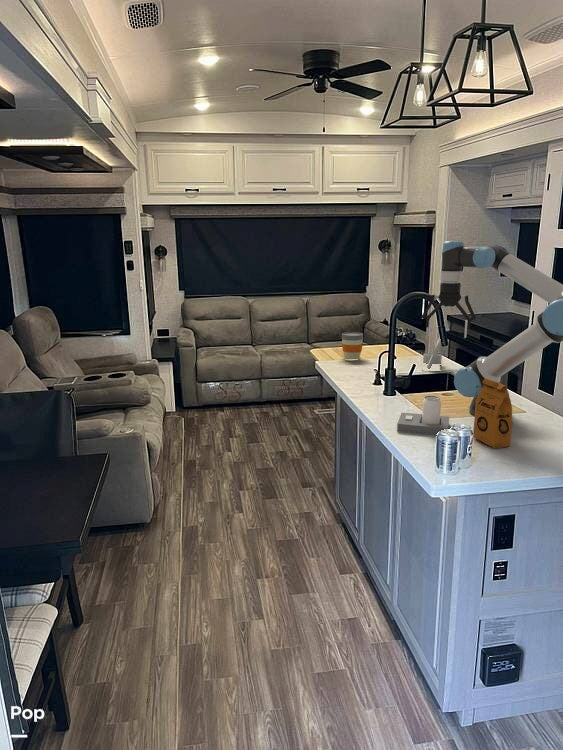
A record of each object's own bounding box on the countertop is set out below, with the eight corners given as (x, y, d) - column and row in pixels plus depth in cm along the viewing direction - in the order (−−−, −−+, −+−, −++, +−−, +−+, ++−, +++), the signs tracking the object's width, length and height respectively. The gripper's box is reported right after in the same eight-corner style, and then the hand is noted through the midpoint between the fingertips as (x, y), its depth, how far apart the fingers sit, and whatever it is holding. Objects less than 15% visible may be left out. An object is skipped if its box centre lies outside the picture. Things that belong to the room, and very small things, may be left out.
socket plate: (448, 423, 214) (449, 415, 213) (447, 436, 201) (448, 426, 201) (401, 419, 220) (401, 410, 219) (397, 431, 207) (397, 422, 206)
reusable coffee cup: (339, 357, 331) (339, 332, 328) (359, 356, 333) (360, 331, 329) (343, 361, 319) (344, 336, 315) (365, 361, 320) (365, 335, 317)
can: (439, 431, 206) (441, 400, 203) (421, 430, 208) (423, 399, 205) (438, 425, 212) (440, 395, 209) (421, 424, 214) (423, 394, 211)
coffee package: (490, 450, 188) (495, 388, 183) (468, 438, 200) (473, 378, 194) (515, 447, 191) (521, 385, 185) (492, 435, 202) (498, 376, 197)
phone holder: (422, 364, 312) (424, 332, 308) (441, 365, 309) (443, 333, 305) (421, 371, 296) (423, 337, 291) (441, 372, 293) (443, 338, 289)
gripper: (484, 281, 214) (480, 336, 219) (418, 280, 221) (415, 333, 227) (485, 283, 207) (480, 339, 212) (416, 282, 214) (413, 336, 220)
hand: (447, 336), depth 219 cm, fingers open, 13 cm apart
